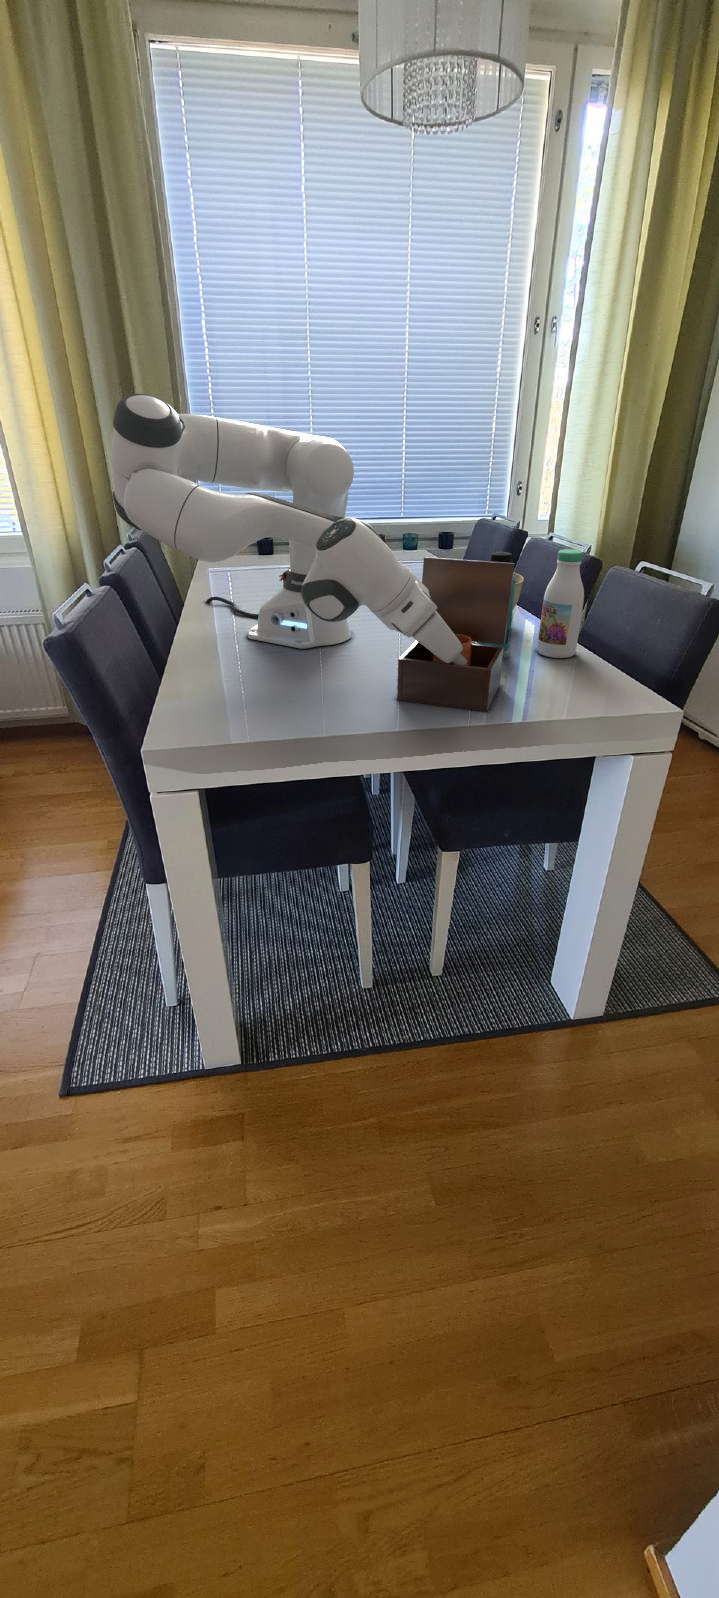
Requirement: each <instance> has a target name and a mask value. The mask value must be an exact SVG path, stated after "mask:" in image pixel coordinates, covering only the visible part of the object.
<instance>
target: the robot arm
mask: <svg viewBox="0 0 719 1598" xmlns="http://www.w3.org/2000/svg"><path fill="white" fill-rule="evenodd" d="M112 426H113V433H112V439H111V440H112V441H111V450H110V451H111V452H110V462H111V465H112V466H111V467H112V469H111V470H112V485H113V492H112V498H113V504H114V508H115V511H116V513H117V515H118V516H119V517H120V518H121V520H123V521H124V522H125V523H126V524H127V525H129V527H132V528H134V529H138V530H141V531H143V532H145V533H146V534H147V535H149V536H151V537H152V538H154V539H155V540H157V541H159V542H160V543H162V544H165V545H166V546H168V547H170V548H172V549H174V550H176V551H177V552H180V553H182V554H184V555H186V556H188V557H190V558H192V559H195V560H197V561H201V562H206V563H211V564H212V563H213V564H214V563H220V562H223V561H226V560H228V559H231V558H234V557H235V556H236V555H238V554H239V553H240V552H242V551H243V550H244V549H245V548H247V547H249V546H251V545H253V544H254V543H256V542H258V541H261V540H263V539H265V538H270V537H281V538H285V539H288V549H289V550H288V551H289V568H287V570H286V571H284V572H282V573H281V574H280V575H278V577H279V582H282V584H283V585H282V588H280V589H279V590H278V591H276V592H275V593H274V594H273V595H272V596H271V597H269V598H268V599H267V600H266V601H265V602H264V603H263V604H262V605H261V606H260V608H259V611H258V613H251V612H247V611H244V610H242V609H240V608H237V605H236V603H235V602H234V601H231V600H228V599H226V598H224V597H221V596H211V597H209V598H208V599H207V600H206V601H205V604H210V603H212V602H213V601H217V602H222V603H224V604H226V605H229V606H231V607H232V610H233V611H234V612H235V613H236V614H239V615H241V616H244V617H248V618H253V619H257V624H255V625H254V626H252V627H251V628H249V630H248V631H247V637H248V639H250V640H253V641H254V640H255V641H259V642H260V641H261V642H265V643H270V644H275V645H280V646H286V647H290V648H296V649H301V650H304V649H305V650H306V649H310V648H315V647H323V646H332V645H337V644H341V643H344V642H346V641H348V640H350V639H351V638H352V633H351V632H352V631H351V630H350V625H349V621H348V618H350V616H352V615H353V614H355V612H357V611H358V609H359V608H360V607H361V606H365V607H367V608H368V610H370V612H371V613H372V614H373V615H375V617H376V618H377V619H378V620H379V621H380V622H381V623H383V624H384V625H385V627H387V629H389V630H390V631H394V632H395V631H396V632H398V633H401V634H402V635H403V636H406V637H407V638H408V639H409V638H413V639H414V641H416V640H417V641H418V642H419V643H421V644H422V645H423V646H424V647H426V648H427V649H428V650H429V651H431V652H432V653H433V654H434V655H436V656H437V657H438V658H440V659H441V660H442V661H444V662H446V663H450V662H451V661H452V662H453V663H454V664H459V665H465V664H466V663H467V660H466V659H465V658H464V657H463V656H462V655H461V653H460V652H461V651H462V650H463V647H462V645H461V643H460V641H459V640H458V638H457V637H456V636H455V634H454V633H453V632H452V631H451V629H450V628H449V627H448V625H447V624H446V623H445V621H444V620H443V619H442V618H441V616H440V615H439V614H438V613H437V611H436V610H437V606H436V605H435V603H434V602H433V601H432V600H431V597H430V595H429V590H428V589H427V588H426V587H425V585H424V584H423V583H422V580H420V579H419V578H418V576H416V575H415V573H414V572H413V571H411V569H410V568H408V567H407V566H406V565H404V564H402V563H401V562H400V561H399V560H398V559H397V558H396V556H395V554H394V552H393V551H392V549H391V548H390V547H389V545H387V543H385V542H384V540H383V539H382V538H381V536H380V534H379V533H378V531H377V530H376V529H375V527H374V526H372V525H371V524H369V523H368V522H366V521H365V520H362V519H358V518H354V517H350V516H349V517H346V513H347V512H346V510H347V506H348V505H347V504H348V498H349V491H350V487H351V486H352V483H353V481H354V477H355V476H354V474H355V467H354V463H353V460H352V458H351V456H350V454H349V452H348V451H347V450H346V449H345V448H344V447H343V445H342V444H341V443H340V442H338V441H337V440H335V439H334V438H331V437H327V436H322V435H315V434H310V433H303V432H299V431H293V430H287V429H281V428H275V427H271V426H266V425H260V424H256V423H249V422H245V421H239V420H234V419H228V418H222V417H218V416H211V415H204V414H195V413H194V414H193V413H178V412H176V410H175V409H174V408H173V407H172V406H171V405H170V404H169V403H167V402H166V401H165V400H163V399H161V398H159V397H157V396H154V395H151V394H146V393H133V394H129V395H126V396H125V397H124V398H122V399H120V400H119V401H118V402H117V405H116V407H115V410H114V413H113V418H112ZM192 480H194V481H192ZM195 481H198V482H203V483H208V484H214V485H222V486H227V487H228V486H229V487H236V488H241V489H242V488H243V489H248V490H259V491H270V492H272V491H273V492H280V493H281V492H282V493H289V494H292V502H291V501H288V500H285V499H282V498H279V497H276V496H272V495H268V494H264V493H259V492H247V493H228V492H222V491H217V490H214V489H211V488H209V487H206V486H204V485H202V484H199V483H197V482H195Z"/></svg>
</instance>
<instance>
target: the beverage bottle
mask: <svg viewBox="0 0 719 1598" xmlns="http://www.w3.org/2000/svg"><path fill="white" fill-rule="evenodd" d="M489 562H503V563H513V554H512V553H511V552H507V551H494V552H492V553H491V554H490V560H489ZM515 581H516V577H515V575H514V574H513V579H512V587H511V595H510V603H509V611H508V619H507V627H506V635H505V642H504V644H494V643H484V642H477V644H481V645H490V646H499V647H504V649H503V653H506V652H508V651H509V649H510V646H511V639H512V629H513V627H512V626H513V619H514V618H513V617H514V612H513V611H514V609H513V604H514V590H515Z"/></svg>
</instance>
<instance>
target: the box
mask: <svg viewBox="0 0 719 1598" xmlns="http://www.w3.org/2000/svg"><path fill="white" fill-rule="evenodd" d="M503 649H504V647H499V646H490V645H481V644H478V643H472V648H471V660H470V666H467V665H459V664H450V663H441V662H432V657H433V653H432V652H431V651H429V650H428V649H427V648H426V647H424V646H423V645H422V644H421V643H419V642H418V641H417V640H414V642H413V643H412V644H411V645H410V646H409V647H408V648H407V649H406V650H405V651H404V652H403V653H402V654H401V656H400V657H399V658H398V659H397V689H396V690H397V691H396V700H397V701H403V702H404V701H405V702H411V703H412V702H413V703H417V704H418V703H419V704H426V705H435V706H441V707H449V708H457V709H464V710H471V711H472V710H473V711H480V712H488V710H489V708H490V706H491V704H492V702H493V700H494V698H495V695H496V693H497V691H498V689H499V688H500V686H501V675H502V667H503V656H504V652H503Z"/></svg>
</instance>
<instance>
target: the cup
mask: <svg viewBox="0 0 719 1598" xmlns="http://www.w3.org/2000/svg"><path fill="white" fill-rule="evenodd" d="M455 636H456V637H457V638H458V640H459V641H460V643H461V645H462V647H463V650H462V651H461V652H460V653H461V655H462V656H463V657H464V658H465V659H466V660H467V663H466V664H465V665H467V666H470V660H471V648H472V644H473V641H472V639H471V638H470V637H468V636H465V635H461V634H455ZM432 662H441V663H446V662H444V661H442V660H441V659H440V658H438V657H437V656H436V655H434V654H433V657H432ZM450 664H454V663H453V662H452V661H451V662H450Z"/></svg>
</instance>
